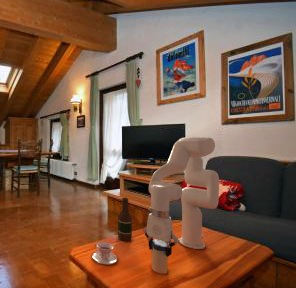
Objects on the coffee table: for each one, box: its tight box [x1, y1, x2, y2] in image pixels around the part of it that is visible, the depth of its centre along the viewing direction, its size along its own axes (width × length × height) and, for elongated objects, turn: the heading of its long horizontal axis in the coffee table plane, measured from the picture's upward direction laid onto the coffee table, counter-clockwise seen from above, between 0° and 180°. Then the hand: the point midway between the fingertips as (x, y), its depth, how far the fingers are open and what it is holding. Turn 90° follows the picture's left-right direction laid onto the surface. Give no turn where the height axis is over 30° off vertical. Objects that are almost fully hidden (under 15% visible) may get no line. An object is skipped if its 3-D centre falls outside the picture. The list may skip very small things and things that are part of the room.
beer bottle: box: [117, 197, 133, 243], centre depth 127 cm, size 8×8×24 cm
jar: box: [150, 249, 169, 275], centre depth 97 cm, size 7×7×10 cm
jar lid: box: [151, 239, 167, 251], centre depth 97 cm, size 7×7×2 cm
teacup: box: [91, 241, 118, 266], centre depth 105 cm, size 12×12×6 cm
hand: (159, 251), depth 97 cm, fingers closed on jar lid, 7 cm apart
